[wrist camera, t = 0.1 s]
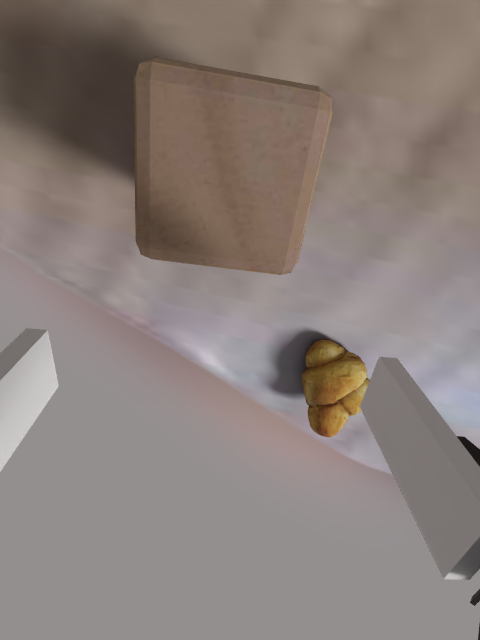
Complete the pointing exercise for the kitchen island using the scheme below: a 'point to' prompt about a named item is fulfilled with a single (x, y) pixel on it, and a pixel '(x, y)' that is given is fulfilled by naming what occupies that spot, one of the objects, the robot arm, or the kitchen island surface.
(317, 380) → the bread roll
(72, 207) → the kitchen island surface
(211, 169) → the wooden block
